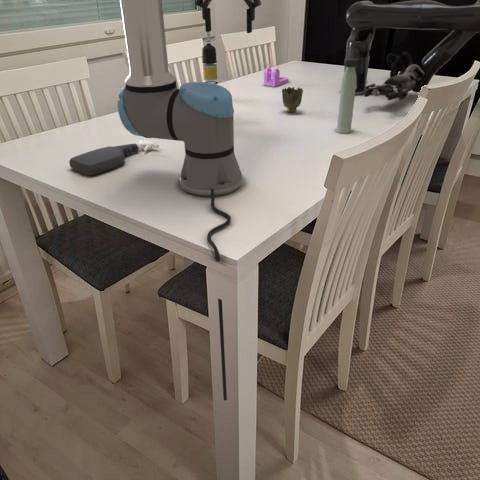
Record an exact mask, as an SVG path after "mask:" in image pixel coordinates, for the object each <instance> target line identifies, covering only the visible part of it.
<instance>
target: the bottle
mask: <svg viewBox="0 0 480 480" xmlns="http://www.w3.org/2000/svg"><path fill="white" fill-rule="evenodd" d="M356 78H357V77H356V70H355V67H346V70H345V72H344V71H343V74H342V77H341V84H340V95H339V104H338V114H337V125H336V132H337V133H339V134H349V133H351V130H352V123H353V114H354V106H355V98H356V97H355V96H356V95H355V89H356V81H357V79H356Z"/></svg>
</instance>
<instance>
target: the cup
mask: <svg viewBox="0 0 480 480" xmlns="http://www.w3.org/2000/svg"><path fill="white" fill-rule="evenodd" d="M303 92H304V89H303V87H301V88H300V87H297V89H295V87H294V86H292V87H290V86H288V87H284V88H282V89H281V97H282V104H283V106H284V107H285V108H286V109H285V110H286V112H287V113H289V114H290V113H291V114H294V113H296V112H297V110H298V109H297V108H299V107H300V106H301V103H302V98H303V94H304V93H303Z"/></svg>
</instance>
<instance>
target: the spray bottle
mask: <svg viewBox="0 0 480 480" xmlns="http://www.w3.org/2000/svg"><path fill="white" fill-rule="evenodd" d="M159 148H160V145H159V144H158V143H155V142H151V141H148V140H144V139H139V140H138V141H137V142H135V143H129V144H128V143H126V144H122V145H113V146H105V147H100V148H97V149H94V150H90V151H87V152H83V153H81V154H78V155H74V156H73V157H70V159H69V161H68V162H69V167H70V168H71V169H72V170H74V171H75V172H78V173H81V174H83V175H85V176H89V177H90V176H91V177H92V176H95V175H99V174H102V173H105V172H107V171H110V170H113V169H116V168H118V167H120V166H122V165H123V164H124V163H125V158H126V156H127V155H131V154H133V153H138V151H140V150H143V151H144V152H146V151H147V150H149V149H159Z"/></svg>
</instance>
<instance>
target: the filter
mask: <svg viewBox="0 0 480 480" xmlns="http://www.w3.org/2000/svg"><path fill="white" fill-rule="evenodd" d="M205 33H206V39H207V40H206V42H207V43H206V45H204V46H202V49H201V50H202V51H201V52H202V54H201V55H202V57H201V58H202V61H201V63H202V71H203V72H202V73H203V74H202V75H203V80H204V81H206V82H207V83H214V84H217V85H218V84H219V82H218V81H216V80H218V64H216V63H218V61H217V48H216V47H215V46H214V45H212V43H210V42H211V40H210V39H211V31H210V32H206V31H205Z"/></svg>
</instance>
